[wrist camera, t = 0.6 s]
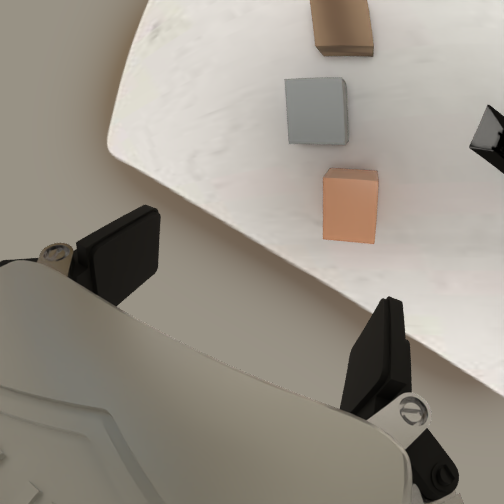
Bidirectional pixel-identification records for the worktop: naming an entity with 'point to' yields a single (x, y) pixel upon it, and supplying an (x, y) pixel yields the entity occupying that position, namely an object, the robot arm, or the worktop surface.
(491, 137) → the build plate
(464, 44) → the worktop surface
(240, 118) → the worktop surface
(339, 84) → the slate grey block
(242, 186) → the worktop surface
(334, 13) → the walnut block
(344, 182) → the terracotta block
